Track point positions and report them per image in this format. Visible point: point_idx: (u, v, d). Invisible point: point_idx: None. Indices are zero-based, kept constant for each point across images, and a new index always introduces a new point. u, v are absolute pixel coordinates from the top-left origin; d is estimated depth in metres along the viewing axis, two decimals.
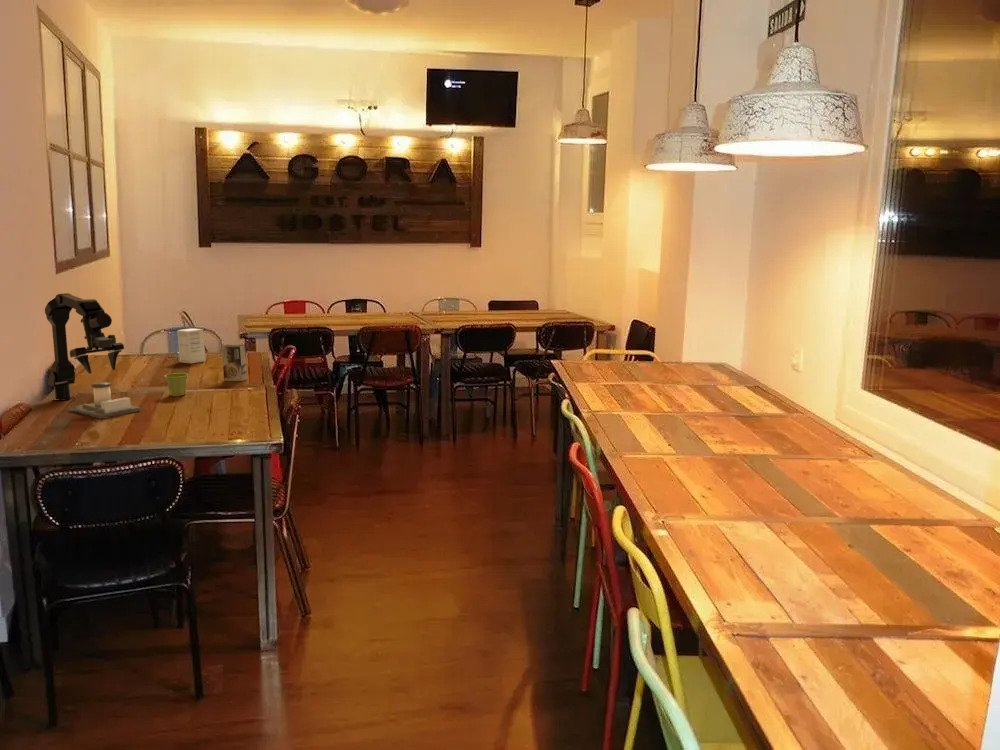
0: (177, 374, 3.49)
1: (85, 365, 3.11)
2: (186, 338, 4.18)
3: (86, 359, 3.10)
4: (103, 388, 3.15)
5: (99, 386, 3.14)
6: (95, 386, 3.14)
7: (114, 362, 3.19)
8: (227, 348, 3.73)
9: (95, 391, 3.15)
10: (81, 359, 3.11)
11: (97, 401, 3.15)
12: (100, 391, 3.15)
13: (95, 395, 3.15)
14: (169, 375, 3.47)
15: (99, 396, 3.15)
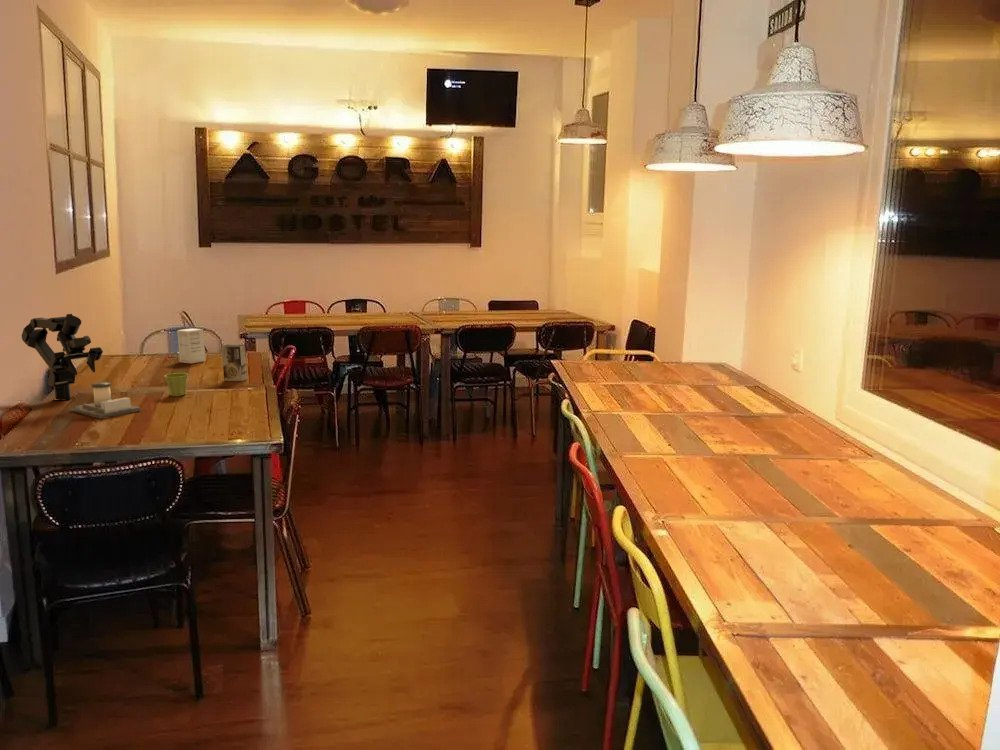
0: (177, 374, 3.49)
1: (70, 368, 3.21)
2: (186, 338, 4.18)
3: (69, 361, 3.20)
4: (103, 388, 3.15)
5: (99, 386, 3.14)
6: (95, 386, 3.14)
7: (93, 364, 3.27)
8: (227, 348, 3.73)
9: (95, 391, 3.15)
10: (65, 365, 3.22)
11: (97, 401, 3.15)
12: (100, 391, 3.15)
13: (95, 395, 3.15)
14: (169, 375, 3.47)
15: (99, 396, 3.15)
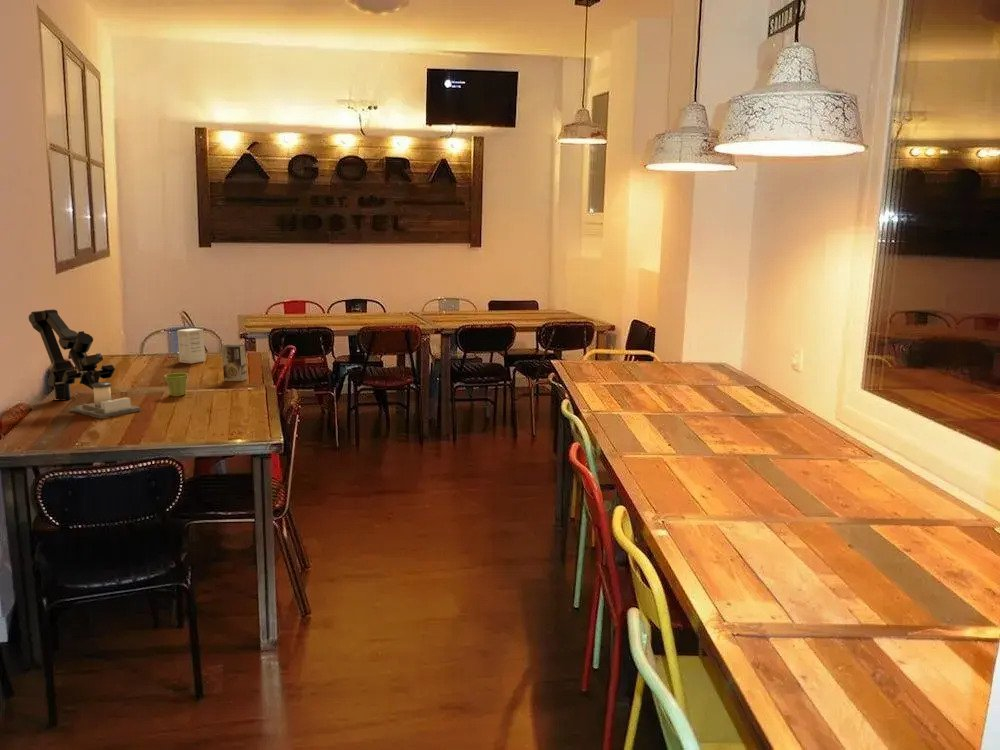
0: (177, 374, 3.49)
1: (91, 384, 3.19)
2: (186, 338, 4.18)
3: (90, 378, 3.19)
4: (103, 388, 3.15)
5: (99, 386, 3.14)
6: (95, 386, 3.14)
7: None
8: (227, 348, 3.73)
9: (95, 391, 3.15)
10: (86, 381, 3.20)
11: (98, 401, 3.15)
12: (100, 391, 3.15)
13: (95, 395, 3.15)
14: (169, 375, 3.47)
15: (99, 396, 3.15)
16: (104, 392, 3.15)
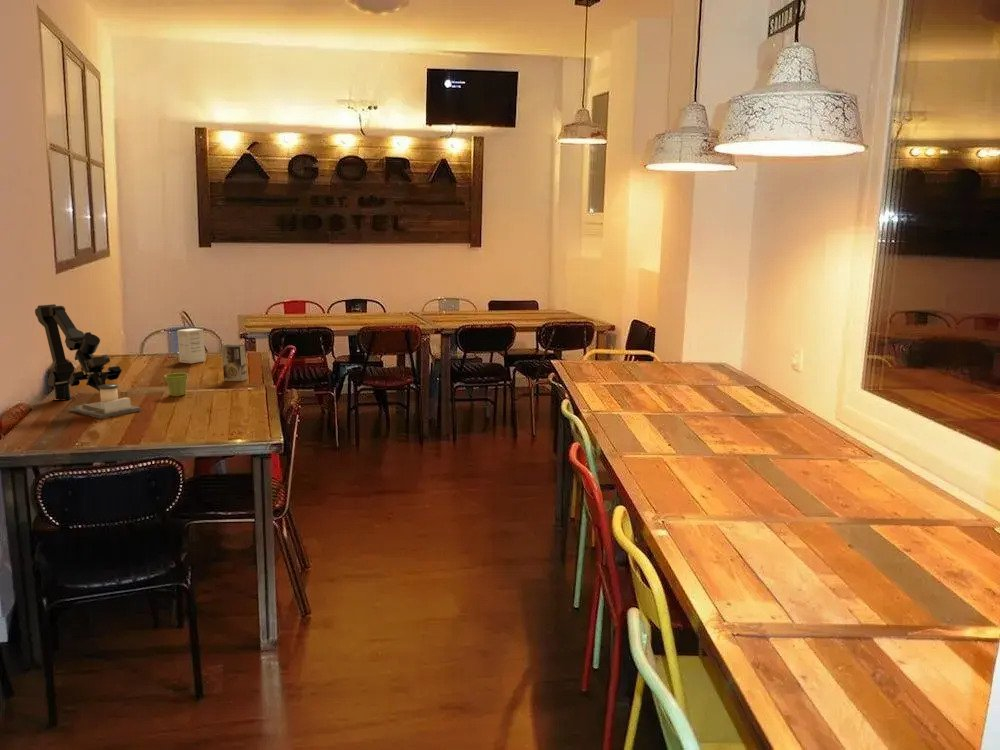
0: (177, 374, 3.49)
1: (97, 386, 3.16)
2: (186, 338, 4.18)
3: (97, 379, 3.16)
4: (110, 390, 3.12)
5: (106, 388, 3.11)
6: (102, 388, 3.11)
7: None
8: (227, 348, 3.73)
9: (102, 393, 3.12)
10: (93, 383, 3.17)
11: None
12: (107, 393, 3.12)
13: (102, 397, 3.12)
14: (169, 375, 3.47)
15: (106, 398, 3.12)
16: (111, 394, 3.12)
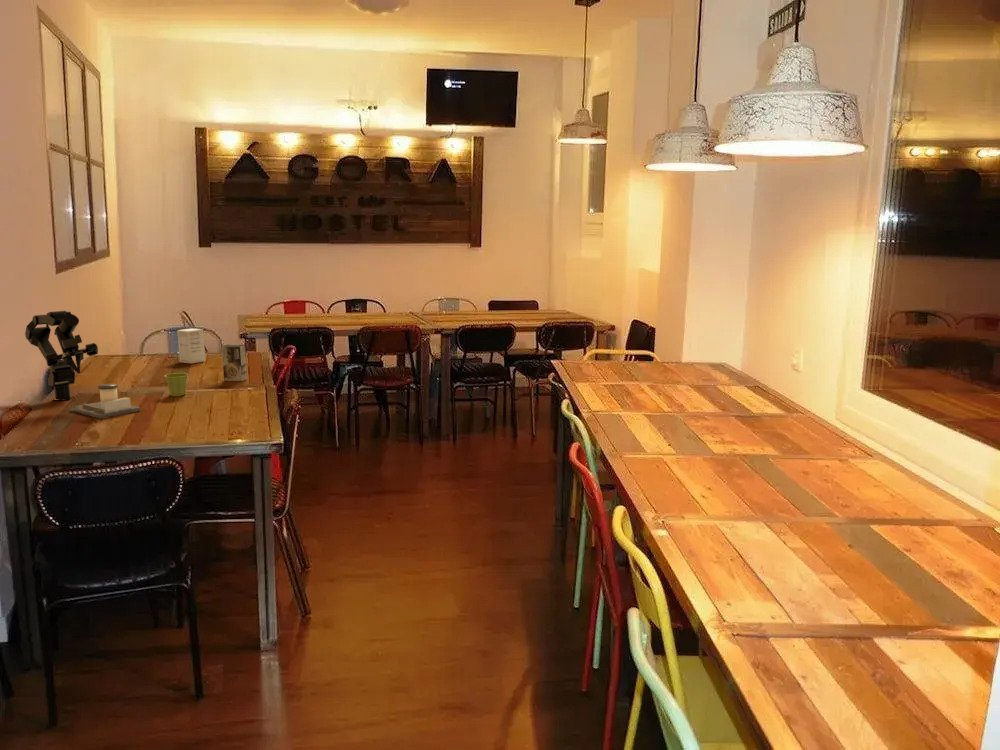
0: (177, 374, 3.49)
1: (72, 366, 3.24)
2: (186, 338, 4.18)
3: (71, 360, 3.23)
4: (110, 390, 3.12)
5: (106, 388, 3.11)
6: (102, 388, 3.11)
7: (78, 365, 3.24)
8: (227, 348, 3.73)
9: (102, 393, 3.12)
10: (69, 362, 3.26)
11: None
12: (107, 393, 3.12)
13: (102, 397, 3.12)
14: (169, 375, 3.47)
15: (106, 398, 3.12)
16: (111, 394, 3.12)
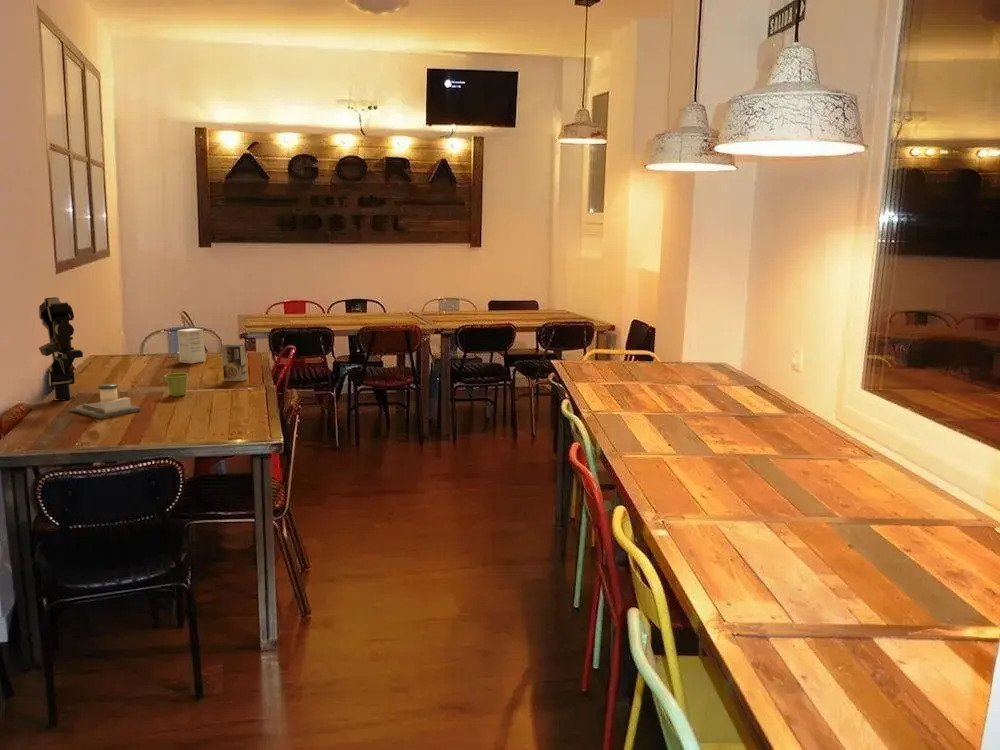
0: (177, 374, 3.49)
1: None
2: (186, 338, 4.18)
3: (58, 360, 3.22)
4: (110, 390, 3.12)
5: (106, 388, 3.11)
6: (102, 388, 3.11)
7: (63, 367, 3.22)
8: (227, 348, 3.73)
9: (102, 393, 3.12)
10: None
11: None
12: (107, 393, 3.12)
13: (102, 397, 3.12)
14: (169, 375, 3.47)
15: (106, 398, 3.12)
16: (111, 394, 3.12)
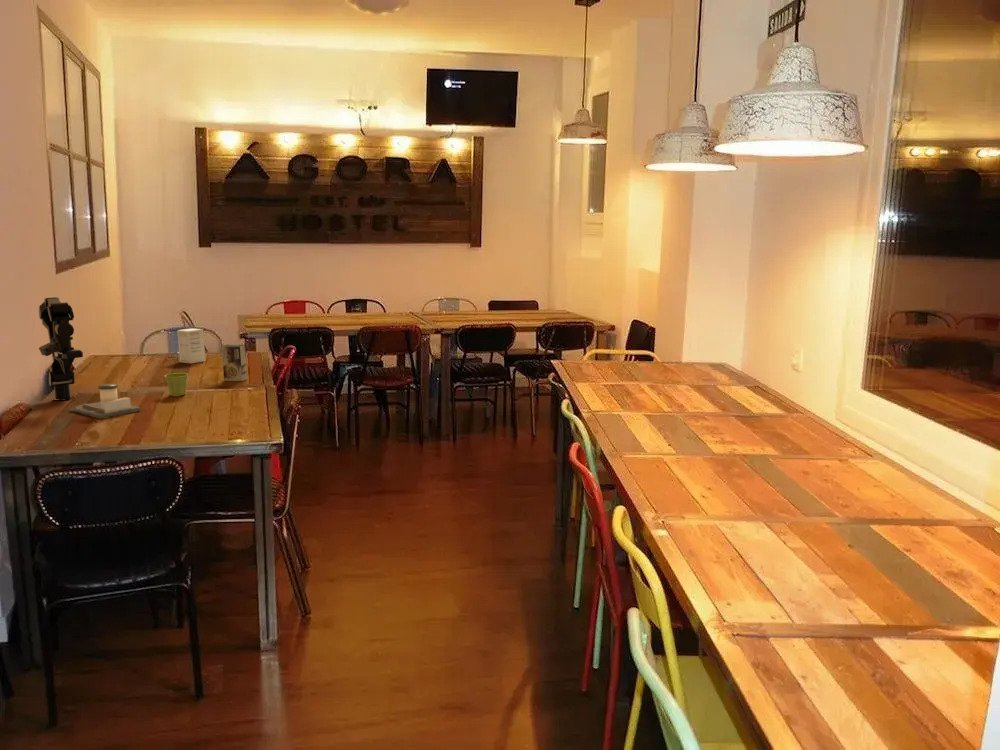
0: (177, 374, 3.49)
1: None
2: (186, 338, 4.18)
3: (58, 360, 3.22)
4: (110, 390, 3.12)
5: (106, 388, 3.11)
6: (102, 388, 3.11)
7: (63, 367, 3.22)
8: (227, 348, 3.73)
9: (102, 393, 3.12)
10: None
11: None
12: (107, 393, 3.12)
13: (102, 397, 3.12)
14: (169, 375, 3.47)
15: (106, 398, 3.12)
16: (111, 394, 3.12)
